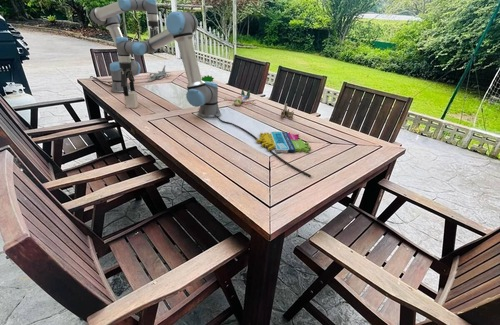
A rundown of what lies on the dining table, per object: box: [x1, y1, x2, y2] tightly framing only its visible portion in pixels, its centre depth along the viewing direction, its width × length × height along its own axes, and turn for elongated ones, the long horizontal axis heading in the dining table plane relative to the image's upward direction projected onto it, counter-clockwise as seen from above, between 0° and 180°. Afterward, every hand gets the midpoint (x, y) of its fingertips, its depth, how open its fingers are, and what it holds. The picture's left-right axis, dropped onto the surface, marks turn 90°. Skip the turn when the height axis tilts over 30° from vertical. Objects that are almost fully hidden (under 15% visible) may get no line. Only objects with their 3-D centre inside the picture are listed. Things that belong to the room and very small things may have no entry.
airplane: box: [145, 65, 172, 83], centre depth 274 cm, size 38×31×10 cm
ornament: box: [201, 74, 215, 82], centre depth 248 cm, size 21×8×15 cm, turn 105°
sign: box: [256, 131, 312, 154], centre depth 152 cm, size 26×2×30 cm
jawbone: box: [280, 103, 295, 120], centre depth 192 cm, size 9×15×10 cm
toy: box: [223, 89, 257, 106], centre depth 219 cm, size 28×7×30 cm
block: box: [123, 91, 139, 109], centre depth 189 cm, size 7×6×10 cm
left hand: (156, 50), depth 209 cm, fingers open, 13 cm apart
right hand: (129, 93), depth 187 cm, fingers open, 13 cm apart
